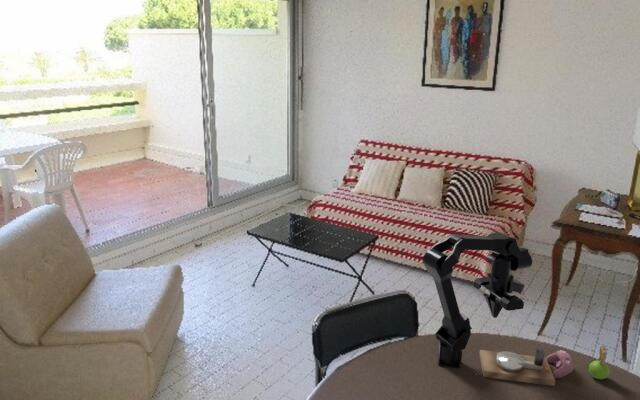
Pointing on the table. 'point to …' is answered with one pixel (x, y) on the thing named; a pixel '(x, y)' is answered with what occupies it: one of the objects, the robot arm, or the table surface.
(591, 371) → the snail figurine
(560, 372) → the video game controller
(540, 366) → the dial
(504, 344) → the table surface
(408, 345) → the table surface
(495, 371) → the stand
